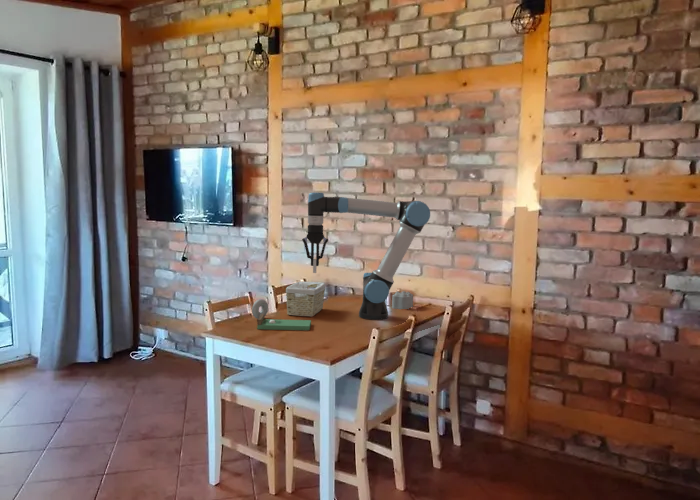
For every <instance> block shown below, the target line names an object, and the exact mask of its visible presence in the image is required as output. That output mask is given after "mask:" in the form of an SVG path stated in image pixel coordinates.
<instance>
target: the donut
mask: <svg viewBox="0 0 700 500" xmlns="http://www.w3.org/2000/svg"><path fill="white" fill-rule="evenodd" d="M260 307H261V309H260ZM268 311H269V304H268V302H267V301H266V300H265V299H263V298H259V299H257V300H255V301H254V303H253V305H252V308H251V313H252V316H253V317H254V318H255V319H257V320H258V318H259V317H260V315H261V314H265V317H266V316H267V314H268Z"/></svg>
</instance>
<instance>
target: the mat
mask: <svg viewBox="0 0 700 500" xmlns="http://www.w3.org/2000/svg"><path fill="white" fill-rule="evenodd" d="M270 320H274V321H275V322H276V323H269V321H270ZM256 326H257V327H256V329H257V330H270V331H271V330H274V331H276V330H277V331H279V330H280V331H281V330H283V331H310V330H311V326H312V319H311V320H310V319H270V318H266V319H264V321H263V322H262V324H261V325H256Z"/></svg>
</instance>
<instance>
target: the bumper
mask: <svg viewBox="0 0 700 500" xmlns="http://www.w3.org/2000/svg"><path fill="white" fill-rule="evenodd" d="M265 317H266V316H265V314H261V315H260V317H259V318H258V319H257V320H256V321H257V325H261V324H262V322H263V321H264V319H265ZM257 325H256V326H257Z"/></svg>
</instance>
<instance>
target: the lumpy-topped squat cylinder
mask: <svg viewBox="0 0 700 500" xmlns="http://www.w3.org/2000/svg"><path fill="white" fill-rule="evenodd" d="M391 297H392V298H391V309H396V310H401V309H408V310H410V309H409V308H411V307H414V294H413V293H411V292H410V291H405V290H403V291H401V292H400V291H396V292H395V293H393V294H392V296H391ZM411 309H412V308H411Z"/></svg>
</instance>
